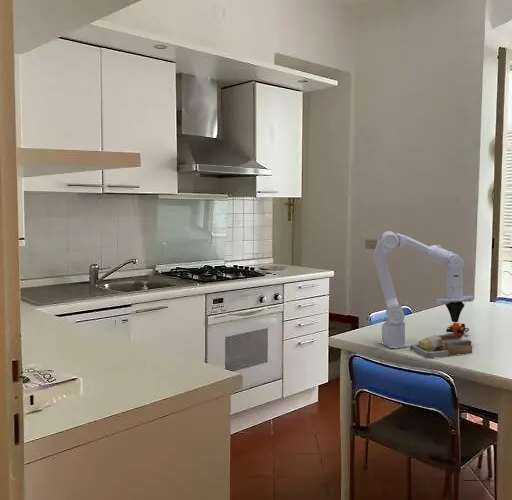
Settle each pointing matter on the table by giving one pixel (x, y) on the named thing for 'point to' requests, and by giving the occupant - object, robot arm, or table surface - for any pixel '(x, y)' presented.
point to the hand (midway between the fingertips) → (454, 321)
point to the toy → (457, 329)
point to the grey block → (435, 341)
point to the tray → (426, 354)
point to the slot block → (454, 345)
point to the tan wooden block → (426, 345)
